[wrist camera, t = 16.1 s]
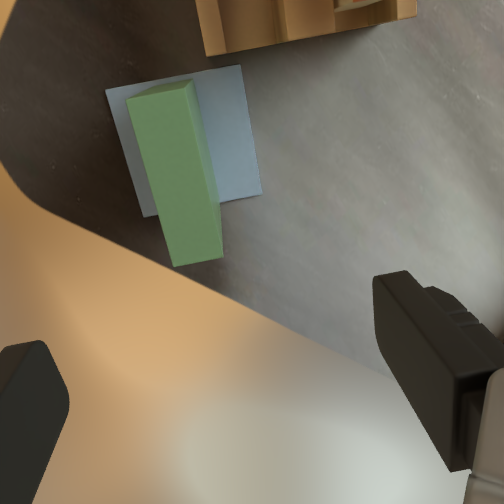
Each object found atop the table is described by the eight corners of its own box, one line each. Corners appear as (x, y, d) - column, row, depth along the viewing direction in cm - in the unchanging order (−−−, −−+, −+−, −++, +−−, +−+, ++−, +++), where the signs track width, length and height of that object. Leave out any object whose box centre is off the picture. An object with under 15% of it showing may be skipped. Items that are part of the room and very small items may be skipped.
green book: (184, 203, 41) (173, 267, 29) (154, 85, 37) (124, 99, 24) (219, 196, 41) (223, 257, 29) (193, 78, 37) (184, 87, 24)
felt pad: (144, 216, 42) (143, 217, 42) (105, 89, 37) (104, 89, 36) (261, 193, 42) (262, 194, 42) (240, 63, 37) (240, 63, 37)
